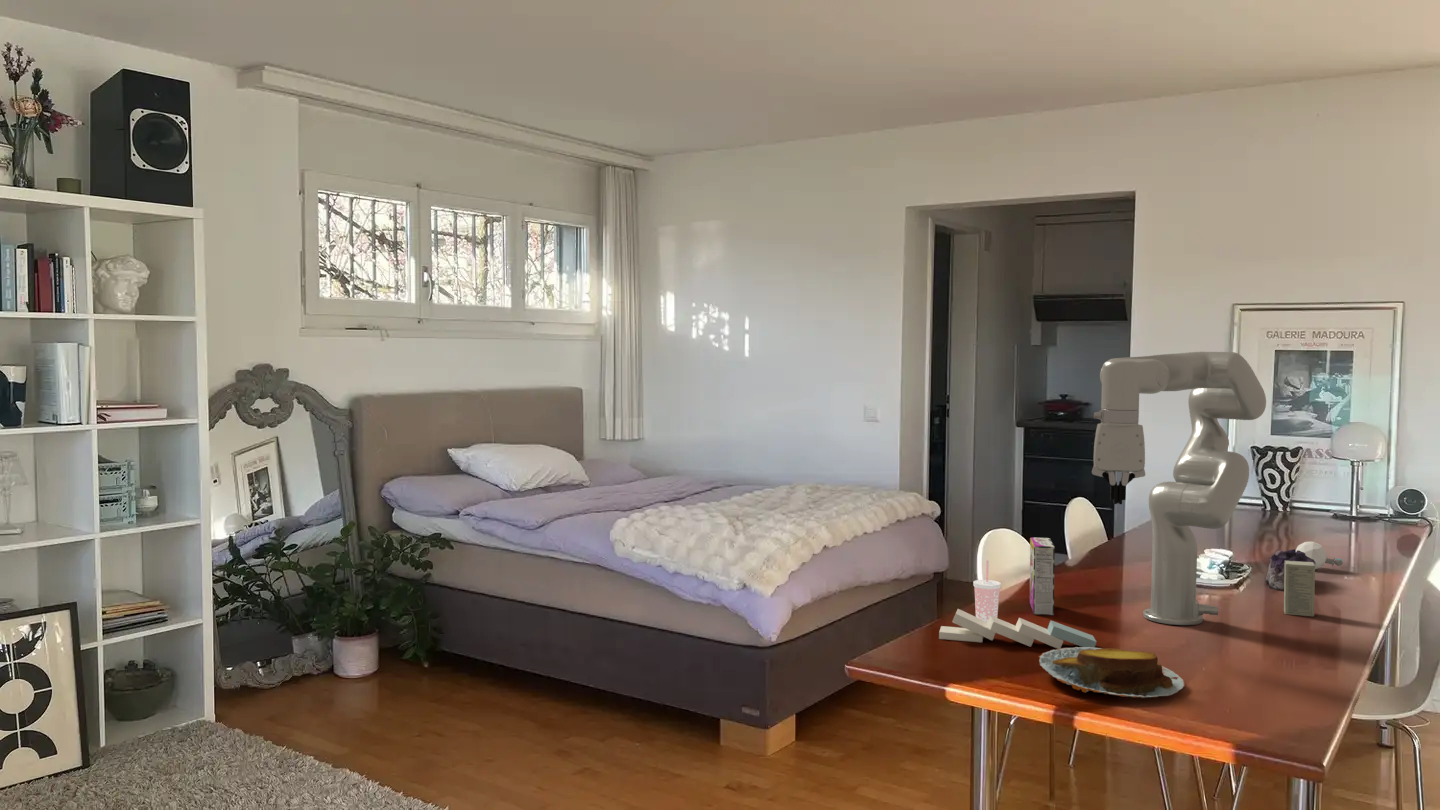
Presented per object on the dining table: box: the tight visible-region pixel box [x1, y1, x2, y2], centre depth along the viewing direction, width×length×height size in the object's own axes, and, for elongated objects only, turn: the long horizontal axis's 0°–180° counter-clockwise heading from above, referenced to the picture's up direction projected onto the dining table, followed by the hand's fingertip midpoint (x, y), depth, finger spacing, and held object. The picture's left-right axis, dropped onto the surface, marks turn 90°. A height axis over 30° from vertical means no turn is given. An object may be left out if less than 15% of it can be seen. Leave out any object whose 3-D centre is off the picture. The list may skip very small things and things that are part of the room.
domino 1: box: [938, 625, 984, 643], centre depth 228 cm, size 2×5×9 cm
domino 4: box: [1015, 617, 1064, 649], centre depth 222 cm, size 2×5×9 cm
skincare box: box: [1283, 560, 1316, 617], centre depth 249 cm, size 6×4×12 cm
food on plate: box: [1038, 646, 1186, 699], centre depth 198 cm, size 26×26×7 cm
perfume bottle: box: [1295, 541, 1344, 571], centre depth 298 cm, size 8×8×12 cm
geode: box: [1264, 548, 1316, 592], centre depth 280 cm, size 20×12×10 cm, turn 145°
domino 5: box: [1047, 620, 1097, 648], centre depth 221 cm, size 2×5×9 cm
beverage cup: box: [972, 560, 1002, 622], centre depth 241 cm, size 6×6×14 cm
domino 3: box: [987, 615, 1035, 648], centre depth 224 cm, size 2×5×9 cm
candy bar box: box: [1029, 537, 1056, 616], centre depth 252 cm, size 11×5×16 cm, turn 168°
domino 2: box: [951, 608, 997, 641], centre depth 226 cm, size 2×5×9 cm
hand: (1117, 503), depth 227 cm, fingers closed
